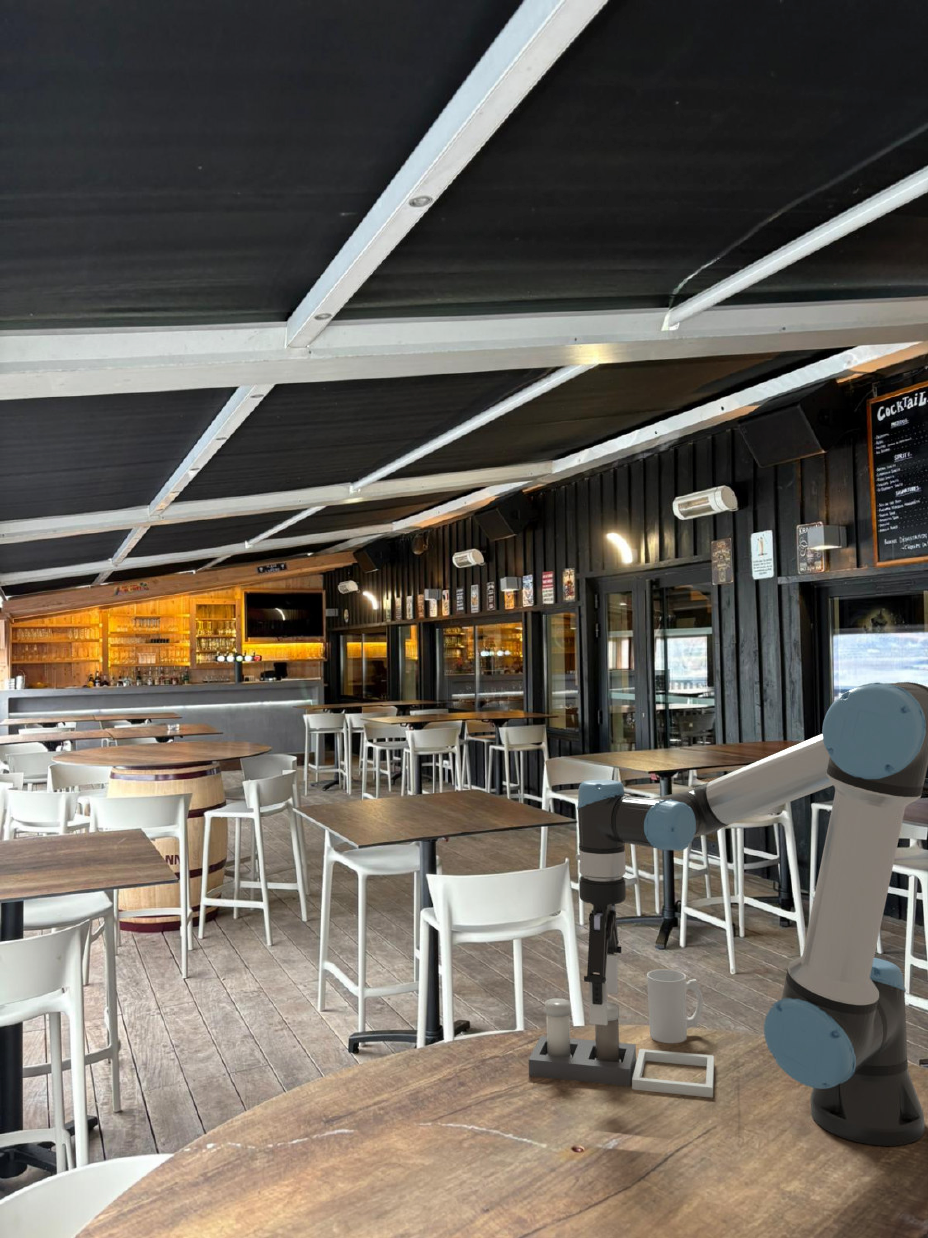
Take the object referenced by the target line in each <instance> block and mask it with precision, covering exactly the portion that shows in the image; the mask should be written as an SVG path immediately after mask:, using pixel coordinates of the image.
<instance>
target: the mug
mask: <svg viewBox="0 0 928 1238" xmlns="http://www.w3.org/2000/svg"><path fill="white" fill-rule="evenodd" d="M646 976H647V977H646V979H647V981H646V984H647V986H646V987H647V1000H648V1001H647V1004H648V1021H649V1036H650V1038H651V1039H653V1040H654V1041H655V1042H659V1043H664V1044H678V1043H682V1042H685V1041H686V1040H687V1039H688V1035H687V1034H688V1029H689V1028H692V1027H693V1028H694V1027H695V1028H696V1027H698V1025H699V1023H700V1022H699V1021H700V1020H701V1016H702V1012H703V1008H704V997H703V996H704V995H703V993H702V990H701V988H700V986H699V983H698V980H697V979H696V978H693V979H688V981H687V979H686V978H687V975H686V974H685V973H684V972H682V971H678V970H676V969H666V968H664V969H662V968H660V969H654V970H650V971H648V972H647V973H646ZM688 990H692V992H694V994H695V996H696V1006H695V1007H696V1008H695V1011H694V1012H693V1014H692V1015H691V1016H690V1017H687V1016H688V1015H687V991H688Z"/></svg>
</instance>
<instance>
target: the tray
mask: <svg viewBox="0 0 928 1238" xmlns="http://www.w3.org/2000/svg"><path fill="white" fill-rule="evenodd" d="M637 1053H638V1054H637V1056H636V1063H635V1067H634V1071H633V1075H632V1079H631V1083H632V1084H631V1085H632V1086H631V1087H632V1088H631V1089H632V1090H636V1091H644V1092H645V1091H646V1092H655V1093H656V1092H657V1093H664V1094H676V1095H683V1096H695V1097H705V1098H714V1082H715V1081H714V1080H715V1079H714V1078H715V1077H714V1076H715V1056H714V1055H711V1054H701V1053H689V1052H677V1051H670V1050H669V1051H667V1050H657V1049H647V1048H639V1050H638V1052H637ZM646 1062H655V1063H665V1064H666V1063H667V1064H675V1065H676V1064H677V1065H684V1066H685V1065H686V1066H696V1067H697V1066H698V1067H706V1075H705V1078H706V1079H705V1083H698V1082H688V1081H679V1080H678V1081H677V1080H669V1079H668V1080H667V1079H657V1078H647V1077H643V1073H644V1069H645V1064H646Z"/></svg>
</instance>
